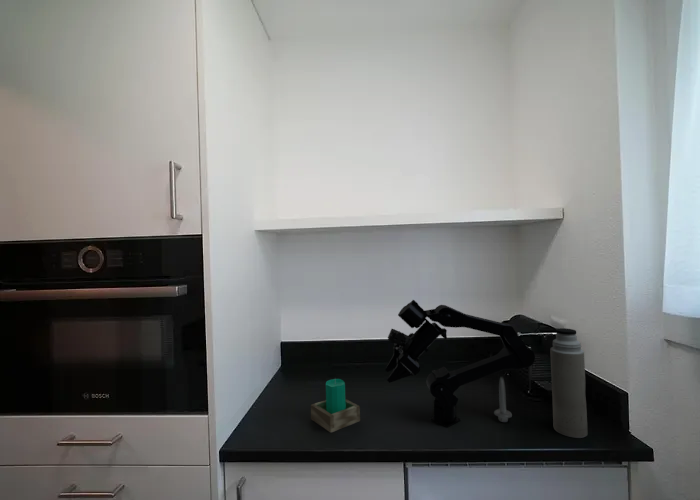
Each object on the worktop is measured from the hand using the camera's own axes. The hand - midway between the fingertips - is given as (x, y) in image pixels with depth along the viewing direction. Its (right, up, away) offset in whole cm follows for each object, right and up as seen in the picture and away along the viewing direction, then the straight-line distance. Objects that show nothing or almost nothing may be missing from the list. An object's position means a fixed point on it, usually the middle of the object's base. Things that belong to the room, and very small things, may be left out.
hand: (387, 375), depth 105 cm
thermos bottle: (+50, -12, -9) cm, 52 cm away
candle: (-16, -13, +1) cm, 20 cm away
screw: (+34, -13, -2) cm, 37 cm away
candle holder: (-16, -14, +1) cm, 21 cm away
